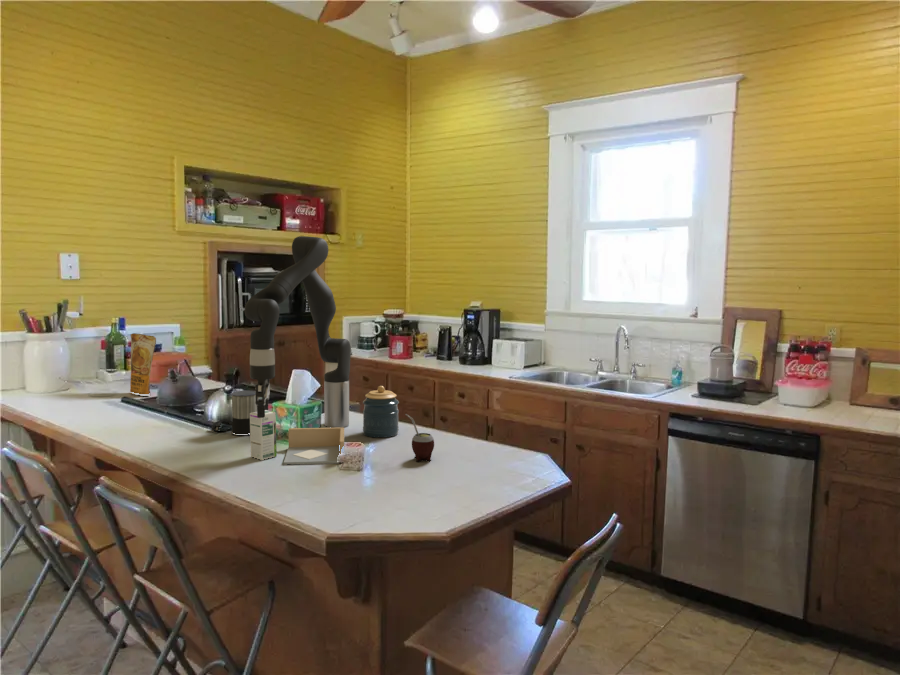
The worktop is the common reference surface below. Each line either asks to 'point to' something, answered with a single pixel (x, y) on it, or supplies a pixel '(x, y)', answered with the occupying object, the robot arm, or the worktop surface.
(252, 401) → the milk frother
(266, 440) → the syrup box
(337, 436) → the corner arena
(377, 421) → the canister
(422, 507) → the worktop surface
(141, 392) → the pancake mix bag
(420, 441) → the mate gourd
